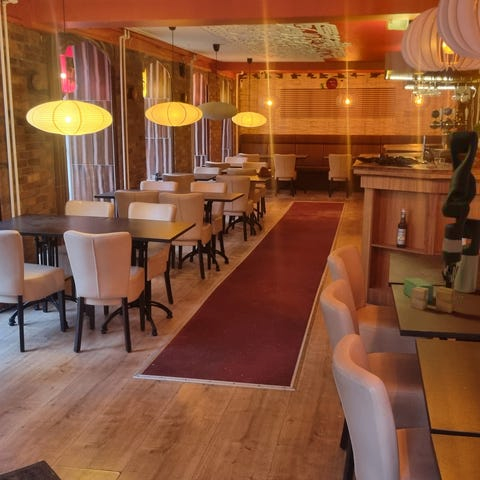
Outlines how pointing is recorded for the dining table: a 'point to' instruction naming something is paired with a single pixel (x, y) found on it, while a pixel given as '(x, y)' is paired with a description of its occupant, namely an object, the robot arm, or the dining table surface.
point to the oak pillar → (445, 299)
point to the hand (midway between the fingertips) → (448, 290)
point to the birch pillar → (419, 298)
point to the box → (417, 282)
